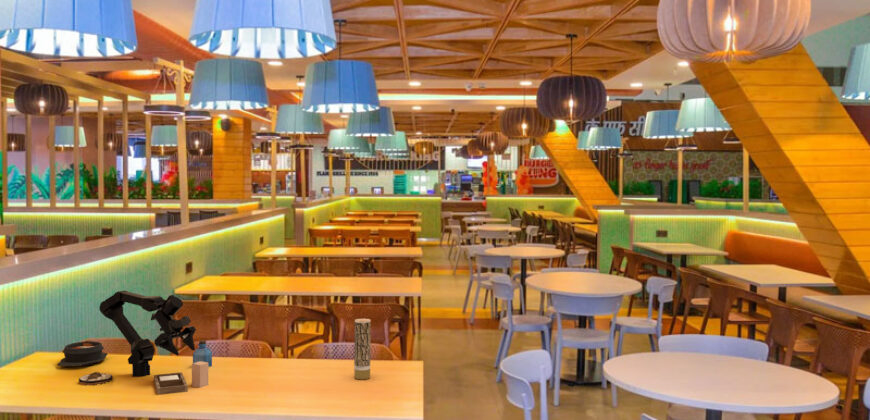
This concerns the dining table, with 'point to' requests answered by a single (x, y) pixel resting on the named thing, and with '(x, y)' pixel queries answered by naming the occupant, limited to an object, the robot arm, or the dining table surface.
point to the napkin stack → (168, 377)
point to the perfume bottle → (203, 353)
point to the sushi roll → (95, 378)
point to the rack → (170, 384)
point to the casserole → (82, 354)
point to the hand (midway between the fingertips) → (186, 352)
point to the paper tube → (362, 349)
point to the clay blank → (200, 374)
